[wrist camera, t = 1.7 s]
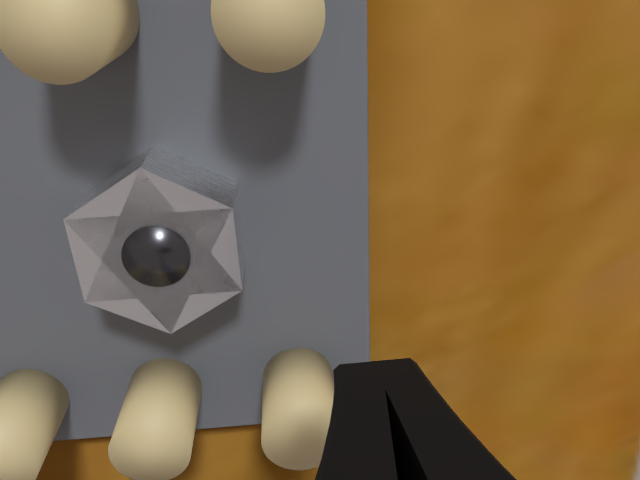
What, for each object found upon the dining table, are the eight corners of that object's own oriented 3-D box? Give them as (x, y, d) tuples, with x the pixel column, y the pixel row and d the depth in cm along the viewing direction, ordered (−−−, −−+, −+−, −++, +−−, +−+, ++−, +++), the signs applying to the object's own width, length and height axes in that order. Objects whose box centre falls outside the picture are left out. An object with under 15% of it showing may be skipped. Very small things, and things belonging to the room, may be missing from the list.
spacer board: (366, 396, 22) (384, 481, 19) (-211, 442, 21) (-308, 541, 18) (360, -89, 15) (387, -101, 12) (-500, -49, 14) (-757, -49, 11)
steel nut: (249, 292, 19) (246, 329, 17) (111, 302, 19) (93, 341, 17) (232, 139, 17) (226, 162, 15) (75, 149, 16) (50, 174, 15)
